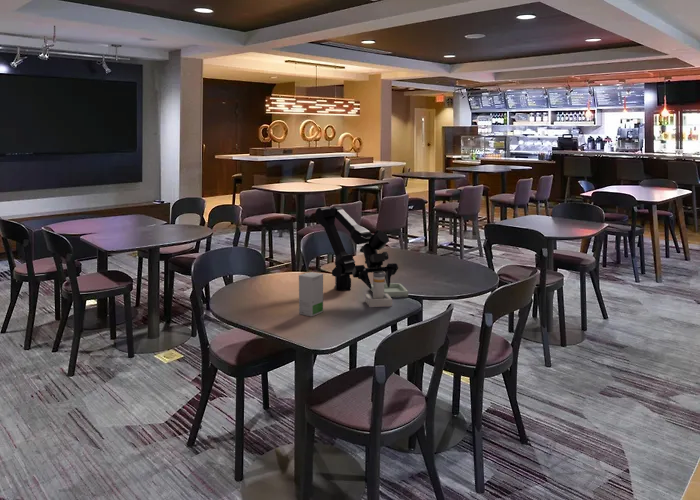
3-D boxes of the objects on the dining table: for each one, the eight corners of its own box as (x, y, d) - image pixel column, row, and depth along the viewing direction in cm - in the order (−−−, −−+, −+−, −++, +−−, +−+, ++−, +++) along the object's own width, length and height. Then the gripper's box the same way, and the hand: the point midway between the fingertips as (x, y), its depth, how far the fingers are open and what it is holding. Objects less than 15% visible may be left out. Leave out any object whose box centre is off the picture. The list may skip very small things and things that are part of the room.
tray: (376, 298, 248) (376, 292, 247) (369, 289, 261) (369, 284, 261) (408, 296, 250) (408, 291, 250) (399, 288, 264) (400, 283, 263)
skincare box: (311, 317, 221) (311, 277, 218) (297, 314, 225) (297, 275, 222) (324, 311, 228) (324, 273, 225) (310, 308, 232) (310, 271, 229)
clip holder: (369, 307, 235) (369, 300, 234) (365, 301, 243) (365, 294, 243) (392, 306, 237) (392, 299, 236) (387, 300, 245) (387, 293, 244)
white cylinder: (373, 305, 237) (374, 274, 235) (371, 302, 242) (372, 271, 239) (385, 305, 238) (386, 274, 236) (382, 301, 243) (383, 271, 240)
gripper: (354, 246, 236) (363, 279, 228) (397, 244, 242) (407, 276, 234) (348, 261, 245) (356, 293, 237) (389, 258, 251) (398, 289, 243)
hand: (380, 287), depth 237 cm, fingers open, 8 cm apart
